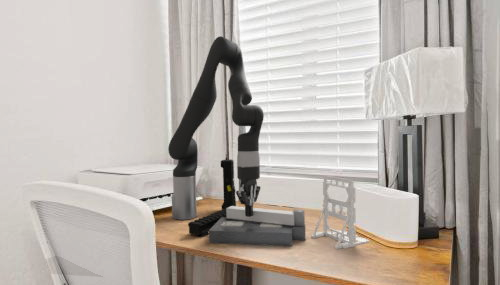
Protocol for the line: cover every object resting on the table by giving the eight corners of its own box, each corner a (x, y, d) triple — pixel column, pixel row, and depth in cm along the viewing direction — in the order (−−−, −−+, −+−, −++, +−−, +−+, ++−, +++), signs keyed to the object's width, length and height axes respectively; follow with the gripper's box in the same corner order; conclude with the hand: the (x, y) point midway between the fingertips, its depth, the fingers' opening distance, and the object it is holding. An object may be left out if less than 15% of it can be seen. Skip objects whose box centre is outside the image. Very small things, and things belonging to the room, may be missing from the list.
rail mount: (220, 221, 131) (219, 208, 131) (234, 223, 128) (233, 210, 128) (185, 236, 113) (184, 222, 112) (200, 239, 109) (200, 224, 109)
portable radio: (235, 213, 142) (234, 155, 141) (221, 213, 142) (220, 155, 141) (236, 209, 150) (235, 154, 149) (223, 209, 150) (221, 154, 149)
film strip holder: (373, 242, 102) (373, 178, 102) (339, 250, 96) (338, 181, 96) (341, 230, 115) (340, 173, 115) (309, 236, 109) (308, 176, 109)
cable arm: (306, 223, 109) (305, 209, 109) (302, 226, 105) (302, 212, 105) (232, 215, 121) (231, 203, 121) (226, 218, 117) (226, 205, 117)
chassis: (209, 243, 105) (208, 229, 105) (221, 228, 120) (221, 216, 120) (305, 246, 100) (305, 232, 100) (305, 230, 116) (305, 218, 115)
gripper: (248, 163, 119) (249, 211, 119) (228, 166, 107) (229, 219, 108) (267, 163, 115) (267, 213, 115) (248, 166, 104) (249, 222, 104)
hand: (249, 216), depth 112 cm, fingers closed
